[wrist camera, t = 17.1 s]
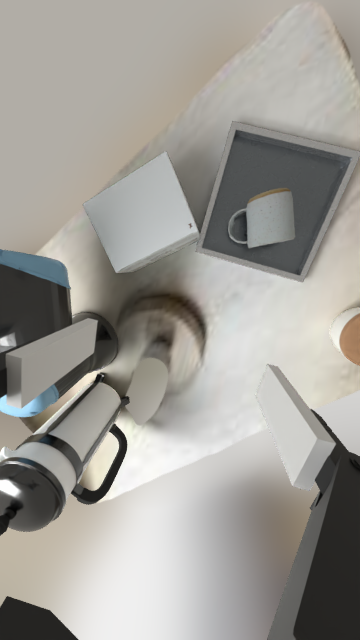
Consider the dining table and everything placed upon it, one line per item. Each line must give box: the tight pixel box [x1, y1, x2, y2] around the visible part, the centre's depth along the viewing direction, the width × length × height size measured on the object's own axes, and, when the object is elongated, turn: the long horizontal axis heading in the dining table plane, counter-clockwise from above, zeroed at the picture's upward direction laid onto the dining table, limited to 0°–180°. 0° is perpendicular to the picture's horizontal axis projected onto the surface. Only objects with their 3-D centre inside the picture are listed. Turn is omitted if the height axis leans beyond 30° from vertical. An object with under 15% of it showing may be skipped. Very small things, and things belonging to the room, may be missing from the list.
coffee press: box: [0, 374, 130, 535], centre depth 41 cm, size 17×16×30 cm
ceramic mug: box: [228, 188, 295, 248], centre depth 35 cm, size 11×8×8 cm
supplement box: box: [83, 151, 201, 273], centre depth 38 cm, size 17×13×9 cm
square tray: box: [195, 121, 360, 282], centre depth 38 cm, size 22×22×2 cm
